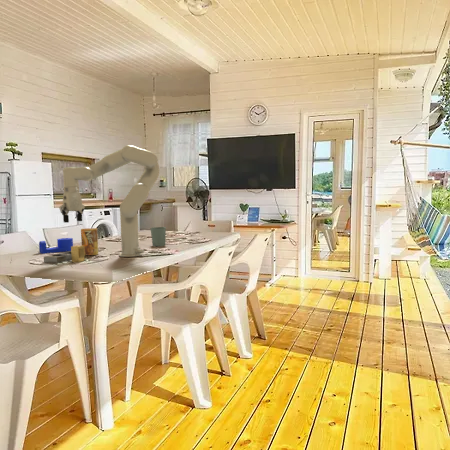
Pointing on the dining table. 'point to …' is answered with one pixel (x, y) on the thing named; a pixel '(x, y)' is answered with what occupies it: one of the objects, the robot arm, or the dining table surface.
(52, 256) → the grey flat frame
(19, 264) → the dining table surface
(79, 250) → the tan shipping carton
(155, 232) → the green cup
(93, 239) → the candy box
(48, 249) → the bracket
